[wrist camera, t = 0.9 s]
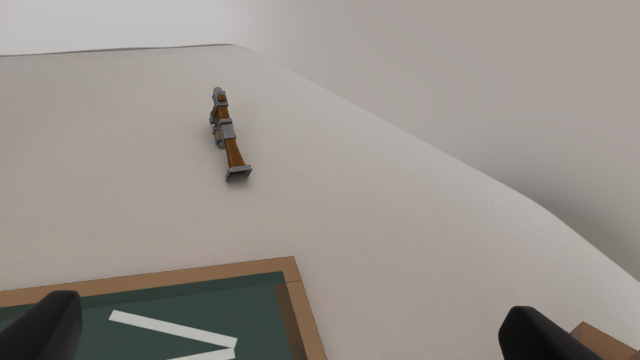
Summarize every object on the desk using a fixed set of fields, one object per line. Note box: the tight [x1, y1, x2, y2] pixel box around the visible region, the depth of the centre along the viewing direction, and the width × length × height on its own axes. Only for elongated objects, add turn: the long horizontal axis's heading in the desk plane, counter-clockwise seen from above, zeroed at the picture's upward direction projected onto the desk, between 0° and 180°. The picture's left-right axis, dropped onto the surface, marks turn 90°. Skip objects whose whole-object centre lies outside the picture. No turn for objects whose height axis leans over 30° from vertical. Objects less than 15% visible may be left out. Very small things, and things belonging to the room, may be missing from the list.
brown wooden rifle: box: [209, 87, 252, 181], centre depth 37 cm, size 2×8×4 cm, turn 25°
